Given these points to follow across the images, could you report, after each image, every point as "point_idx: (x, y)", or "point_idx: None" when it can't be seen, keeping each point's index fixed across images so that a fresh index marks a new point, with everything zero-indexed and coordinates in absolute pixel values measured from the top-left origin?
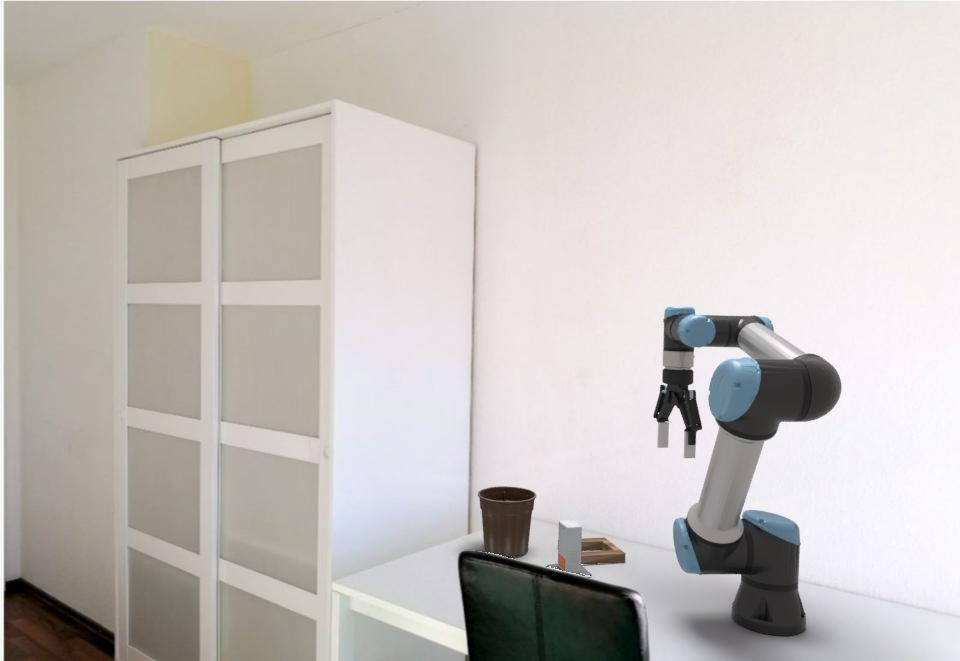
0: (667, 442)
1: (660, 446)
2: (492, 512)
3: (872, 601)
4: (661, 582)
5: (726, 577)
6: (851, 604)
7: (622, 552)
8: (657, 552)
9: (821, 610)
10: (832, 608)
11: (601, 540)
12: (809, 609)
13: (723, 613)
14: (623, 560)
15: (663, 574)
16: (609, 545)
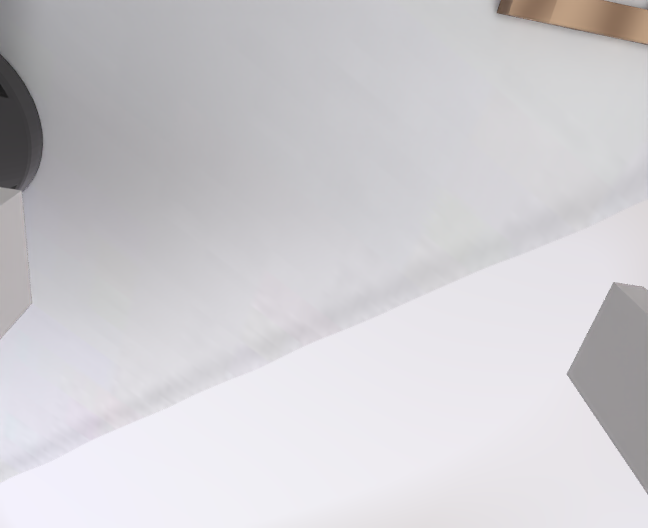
0: (595, 404)
1: (611, 308)
2: None
3: (41, 422)
4: (289, 14)
5: (260, 237)
6: (30, 376)
7: (521, 8)
8: (516, 188)
9: None
10: None
11: None
12: None
13: (8, 31)
14: (501, 5)
15: (348, 72)
16: (610, 9)
